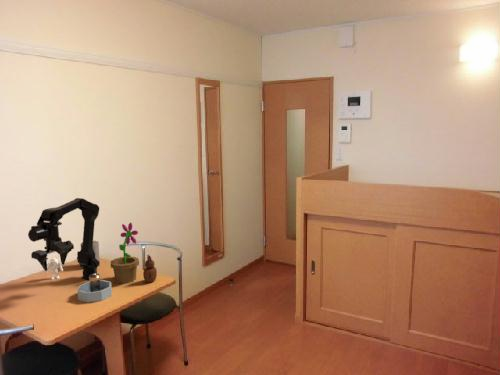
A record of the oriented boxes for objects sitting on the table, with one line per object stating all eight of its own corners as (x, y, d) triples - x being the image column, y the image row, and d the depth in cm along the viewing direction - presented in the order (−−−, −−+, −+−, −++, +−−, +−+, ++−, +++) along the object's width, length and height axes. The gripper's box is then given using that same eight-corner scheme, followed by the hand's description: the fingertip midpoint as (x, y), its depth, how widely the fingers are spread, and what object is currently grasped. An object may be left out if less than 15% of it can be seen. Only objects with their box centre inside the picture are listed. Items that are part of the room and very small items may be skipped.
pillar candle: (78, 268, 224) (76, 242, 221) (87, 262, 233) (86, 237, 231) (94, 269, 222) (92, 243, 220) (103, 263, 231) (102, 238, 229)
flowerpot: (145, 277, 210) (143, 222, 205) (125, 287, 197) (122, 228, 193) (125, 273, 216) (122, 219, 212) (105, 282, 204) (101, 225, 199)
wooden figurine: (149, 284, 200) (148, 256, 198) (141, 282, 203) (140, 254, 201) (159, 280, 206) (158, 252, 204) (151, 278, 209) (150, 250, 207)
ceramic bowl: (96, 287, 197) (95, 278, 197) (118, 292, 191) (117, 283, 190) (71, 298, 184) (71, 289, 184) (94, 304, 178) (93, 294, 177)
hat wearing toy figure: (64, 275, 213) (62, 254, 211) (64, 277, 209) (63, 256, 207) (45, 278, 208) (43, 256, 207) (45, 281, 205) (43, 258, 203)
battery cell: (95, 290, 191) (94, 271, 189) (102, 292, 189) (101, 273, 187) (88, 294, 187) (87, 274, 185) (95, 295, 185) (94, 276, 183)
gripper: (45, 243, 173) (48, 277, 176) (80, 233, 190) (82, 264, 192) (29, 240, 178) (32, 273, 181) (64, 230, 195) (67, 260, 197)
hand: (54, 267), depth 187 cm, fingers open, 9 cm apart
